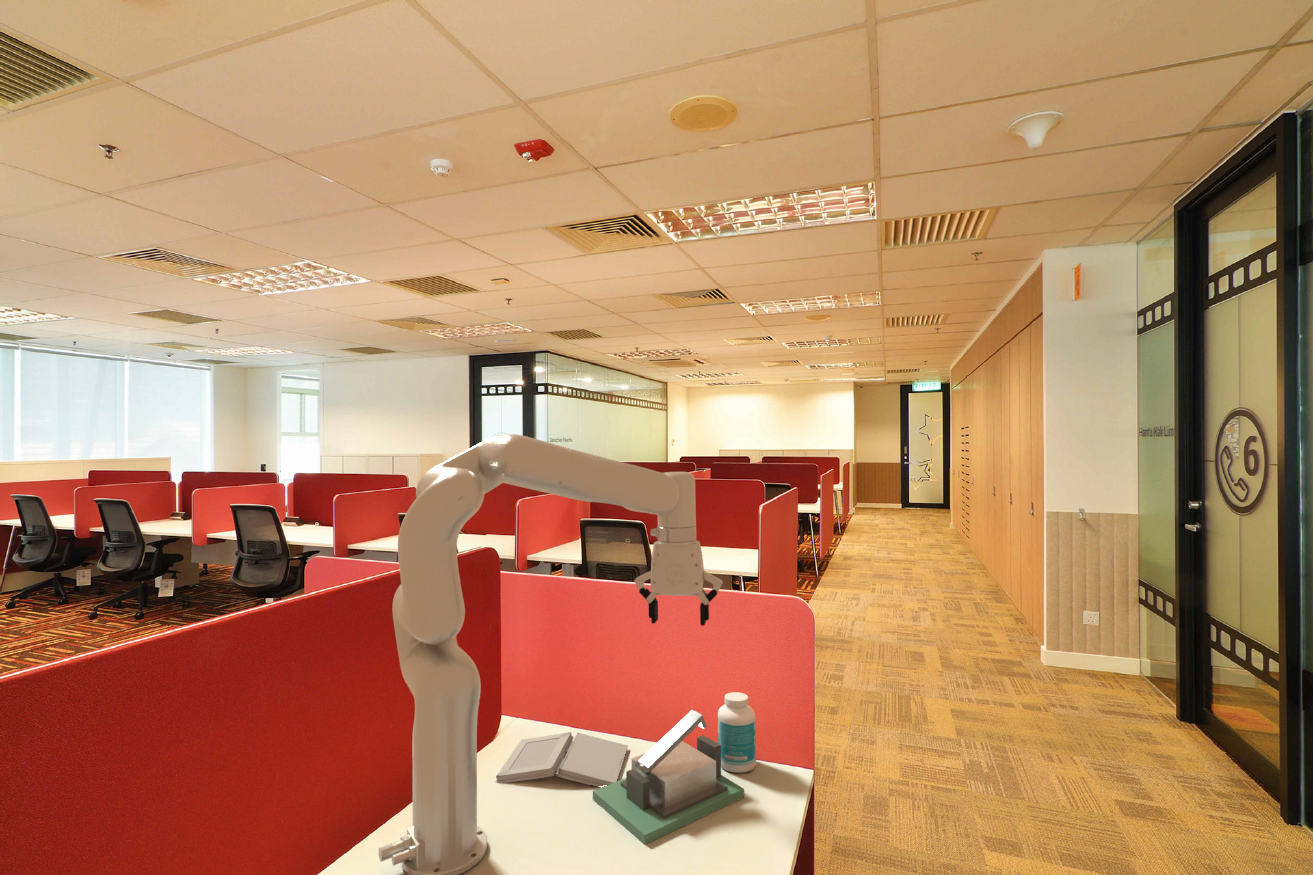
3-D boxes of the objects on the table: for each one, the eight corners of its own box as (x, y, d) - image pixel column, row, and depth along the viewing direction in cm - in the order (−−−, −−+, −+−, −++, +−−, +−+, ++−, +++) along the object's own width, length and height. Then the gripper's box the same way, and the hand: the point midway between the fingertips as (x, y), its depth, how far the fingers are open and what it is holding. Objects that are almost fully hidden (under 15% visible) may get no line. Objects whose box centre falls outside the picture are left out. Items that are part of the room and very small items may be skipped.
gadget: (628, 751, 130) (628, 733, 130) (615, 791, 115) (615, 771, 115) (521, 746, 132) (521, 729, 132) (495, 785, 117) (495, 765, 117)
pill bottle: (763, 770, 121) (762, 700, 121) (729, 777, 118) (728, 706, 118) (744, 752, 128) (743, 686, 128) (711, 759, 125) (711, 692, 125)
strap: (650, 783, 107) (644, 771, 106) (639, 775, 110) (633, 763, 109) (707, 726, 115) (702, 714, 114) (696, 720, 118) (691, 708, 117)
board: (644, 844, 98) (644, 797, 98) (592, 799, 111) (592, 757, 111) (744, 797, 111) (743, 755, 112) (687, 761, 124) (687, 724, 124)
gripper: (629, 537, 119) (631, 626, 119) (719, 538, 116) (721, 630, 116) (638, 531, 127) (640, 615, 127) (723, 532, 123) (725, 618, 123)
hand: (678, 622), depth 121 cm, fingers open, 9 cm apart
